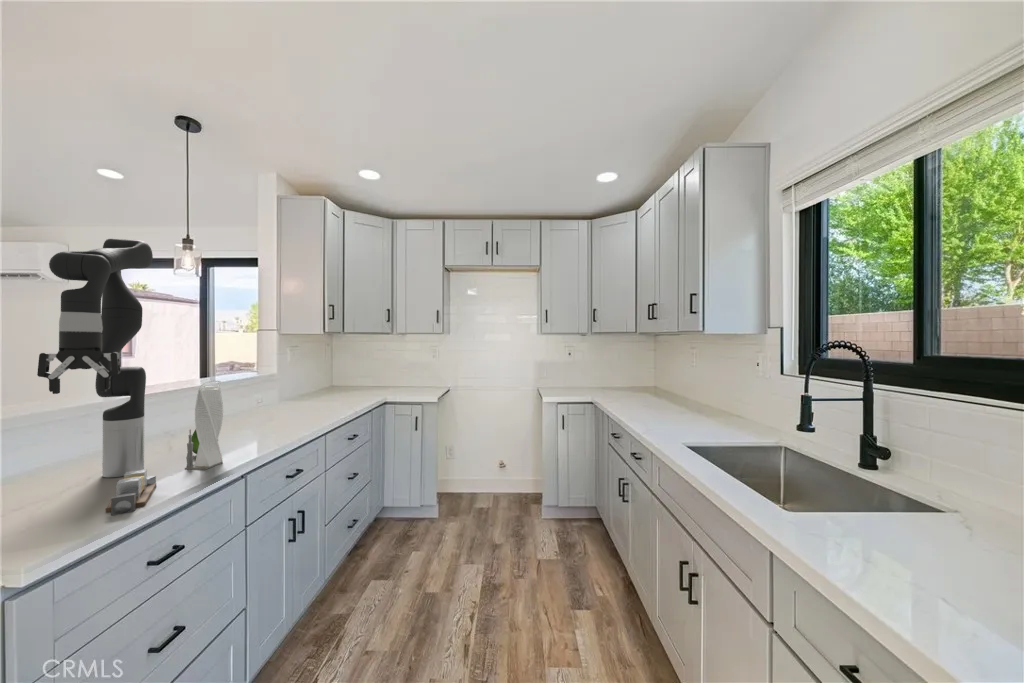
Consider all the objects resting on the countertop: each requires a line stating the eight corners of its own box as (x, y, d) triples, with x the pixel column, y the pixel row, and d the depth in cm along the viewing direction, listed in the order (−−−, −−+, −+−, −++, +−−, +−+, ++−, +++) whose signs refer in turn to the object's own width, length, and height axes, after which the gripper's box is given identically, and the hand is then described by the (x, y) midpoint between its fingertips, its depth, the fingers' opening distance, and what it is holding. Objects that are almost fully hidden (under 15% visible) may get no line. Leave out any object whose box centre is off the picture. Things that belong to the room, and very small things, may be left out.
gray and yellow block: (116, 503, 96) (116, 483, 96) (126, 490, 104) (126, 471, 104) (138, 499, 98) (138, 480, 98) (146, 487, 107) (146, 469, 107)
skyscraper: (206, 461, 133) (207, 380, 133) (229, 461, 132) (229, 380, 132) (184, 469, 124) (185, 382, 124) (208, 469, 124) (209, 383, 124)
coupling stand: (124, 488, 108) (125, 474, 108) (158, 483, 112) (158, 469, 112) (101, 517, 91) (101, 500, 91) (142, 509, 95) (142, 493, 95)
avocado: (210, 457, 137) (210, 423, 137) (184, 458, 136) (185, 424, 136) (222, 450, 145) (222, 419, 145) (198, 451, 144) (199, 419, 144)
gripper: (32, 329, 93) (32, 396, 93) (115, 330, 101) (115, 392, 101) (46, 329, 99) (45, 392, 99) (123, 331, 107) (122, 389, 107)
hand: (80, 392), depth 100 cm, fingers open, 8 cm apart
